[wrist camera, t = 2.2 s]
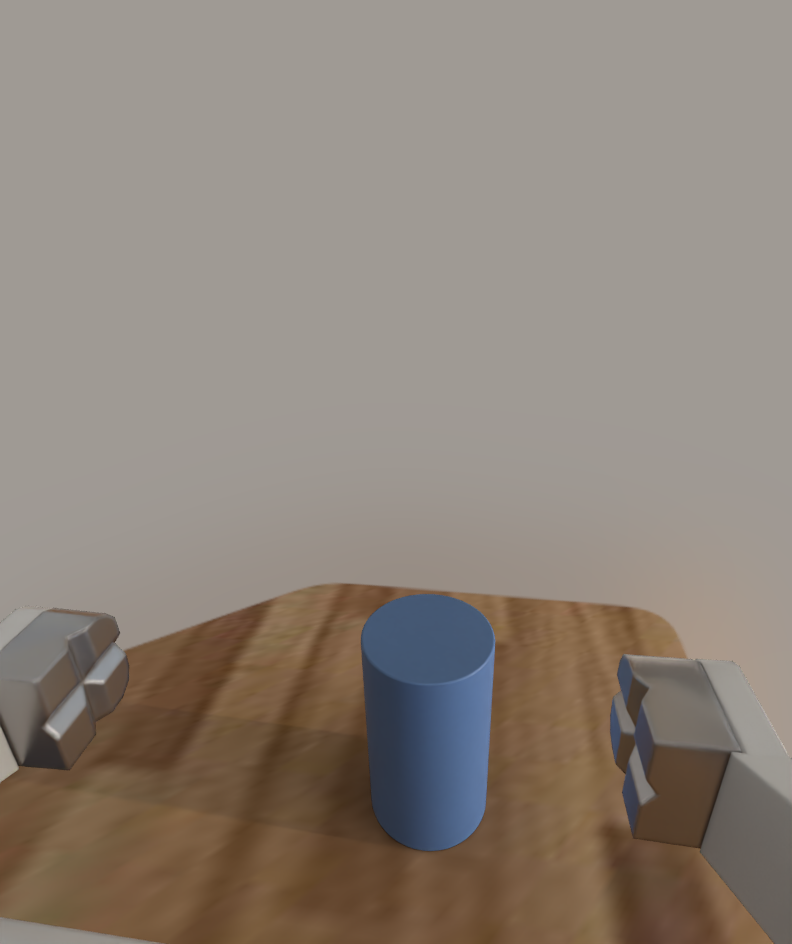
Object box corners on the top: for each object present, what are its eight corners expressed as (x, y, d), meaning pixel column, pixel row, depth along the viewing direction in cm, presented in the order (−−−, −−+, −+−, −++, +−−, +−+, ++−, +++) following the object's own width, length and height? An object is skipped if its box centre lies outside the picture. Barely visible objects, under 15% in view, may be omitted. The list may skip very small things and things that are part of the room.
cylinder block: (485, 751, 31) (494, 597, 26) (486, 859, 26) (496, 691, 21) (381, 740, 31) (373, 589, 27) (361, 843, 26) (347, 678, 22)
